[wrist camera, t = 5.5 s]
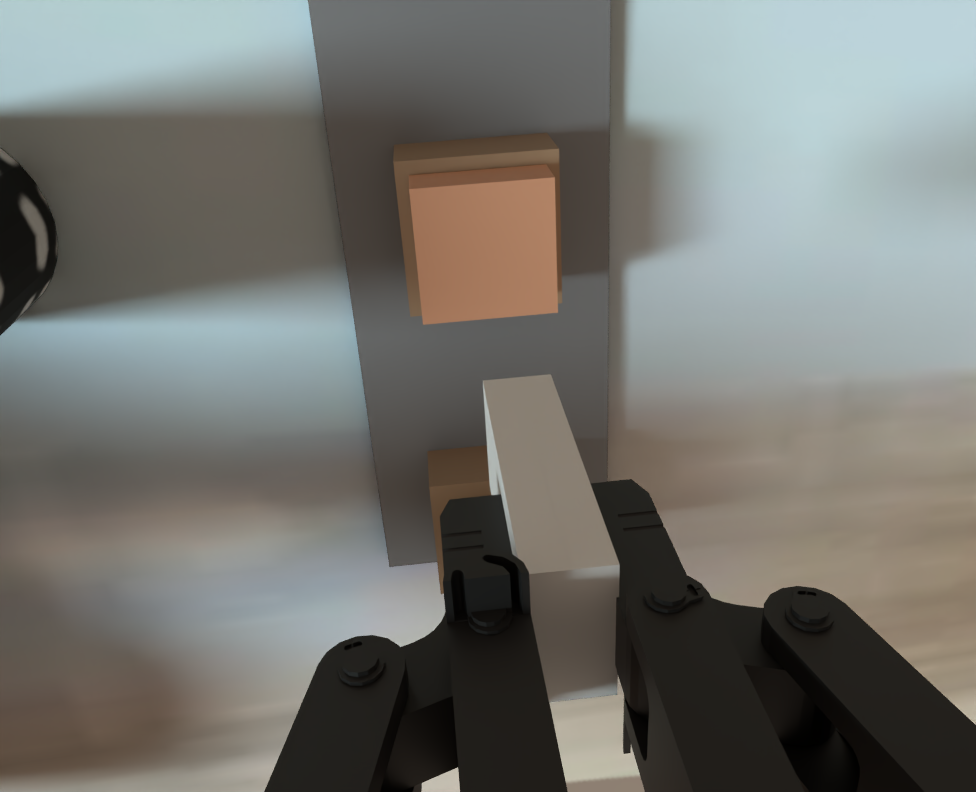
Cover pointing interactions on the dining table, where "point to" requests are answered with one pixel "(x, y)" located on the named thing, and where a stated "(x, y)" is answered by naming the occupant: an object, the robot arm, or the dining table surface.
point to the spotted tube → (23, 242)
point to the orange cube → (485, 243)
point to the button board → (390, 238)
